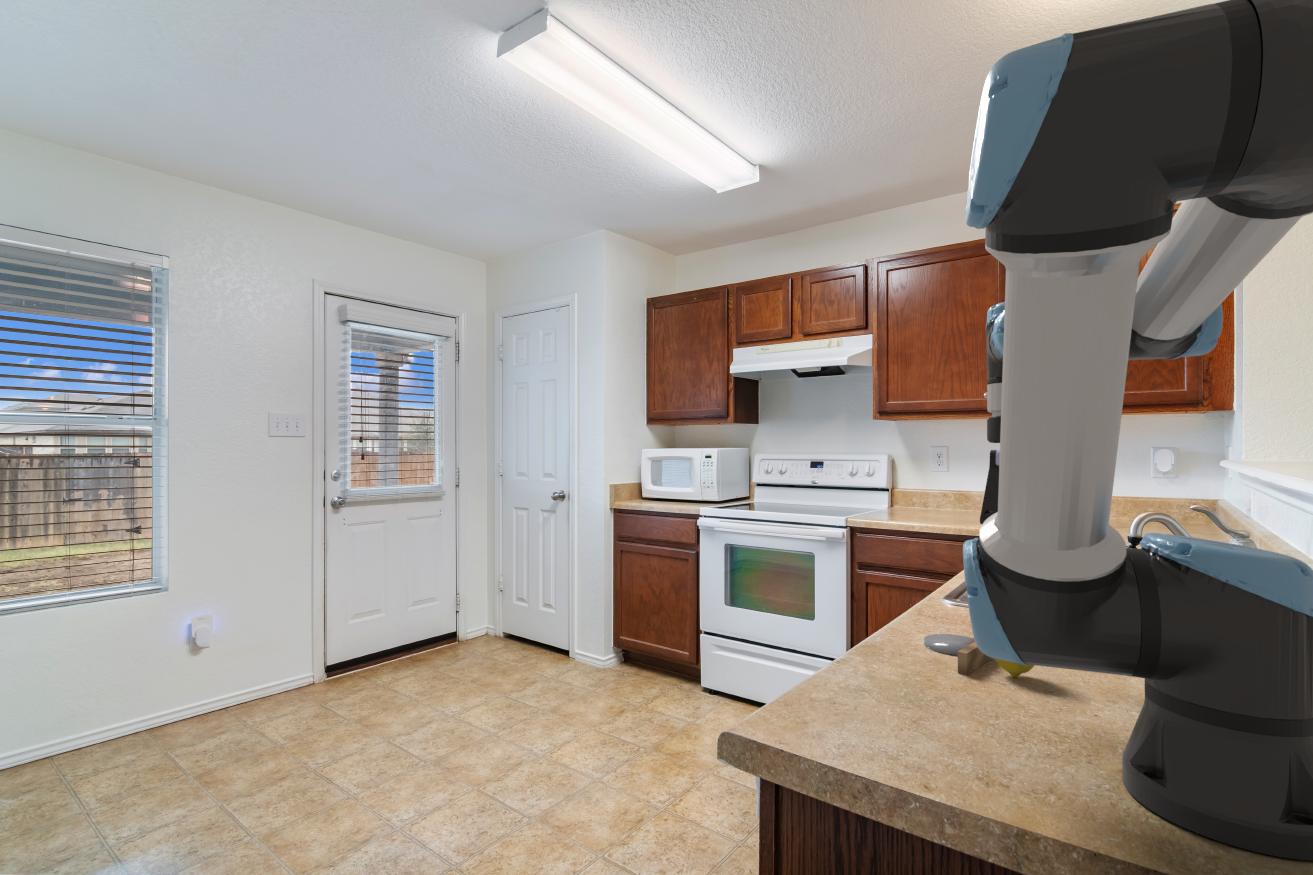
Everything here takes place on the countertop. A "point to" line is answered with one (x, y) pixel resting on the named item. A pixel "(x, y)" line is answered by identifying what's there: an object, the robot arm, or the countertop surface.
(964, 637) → the coaster
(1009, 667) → the lemon
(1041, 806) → the countertop surface
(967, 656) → the divider
